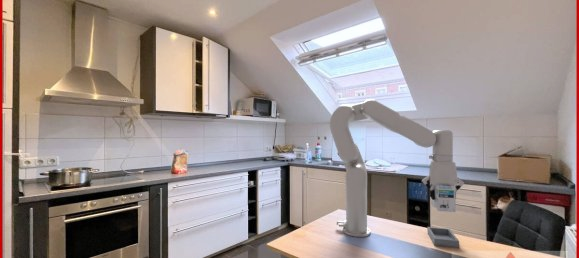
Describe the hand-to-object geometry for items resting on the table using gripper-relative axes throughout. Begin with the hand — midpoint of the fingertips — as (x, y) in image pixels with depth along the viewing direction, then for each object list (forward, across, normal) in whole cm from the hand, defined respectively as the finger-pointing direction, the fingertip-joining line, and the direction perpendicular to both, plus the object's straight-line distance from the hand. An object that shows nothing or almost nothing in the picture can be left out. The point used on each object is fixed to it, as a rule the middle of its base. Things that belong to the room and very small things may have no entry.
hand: (442, 199), depth 114 cm
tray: (+18, 0, 0) cm, 18 cm away
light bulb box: (+4, 0, 0) cm, 4 cm away
